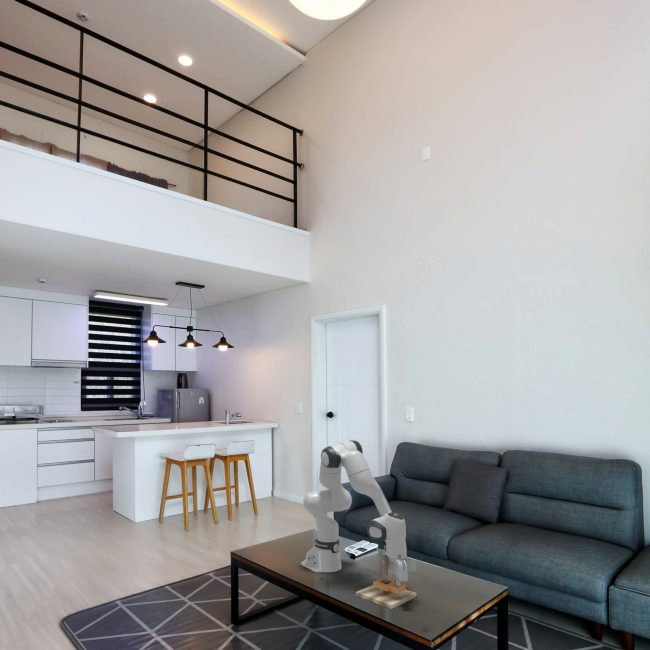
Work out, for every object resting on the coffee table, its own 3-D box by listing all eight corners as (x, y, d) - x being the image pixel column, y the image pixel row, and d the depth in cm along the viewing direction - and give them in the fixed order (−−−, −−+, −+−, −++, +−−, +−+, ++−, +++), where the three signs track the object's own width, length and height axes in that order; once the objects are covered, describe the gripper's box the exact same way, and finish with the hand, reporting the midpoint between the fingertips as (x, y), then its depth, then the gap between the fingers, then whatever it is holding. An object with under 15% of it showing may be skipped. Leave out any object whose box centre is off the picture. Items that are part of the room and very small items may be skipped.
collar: (373, 586, 224) (373, 581, 224) (384, 581, 229) (384, 576, 230) (396, 594, 215) (395, 589, 215) (406, 588, 221) (406, 584, 221)
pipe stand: (356, 595, 224) (355, 555, 226) (381, 584, 236) (380, 546, 239) (391, 609, 210) (391, 566, 212) (416, 596, 223) (415, 556, 225)
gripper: (411, 559, 212) (412, 593, 210) (396, 544, 232) (396, 576, 230) (396, 560, 211) (397, 594, 209) (383, 545, 231) (383, 576, 229)
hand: (397, 584), depth 220 cm, fingers closed
